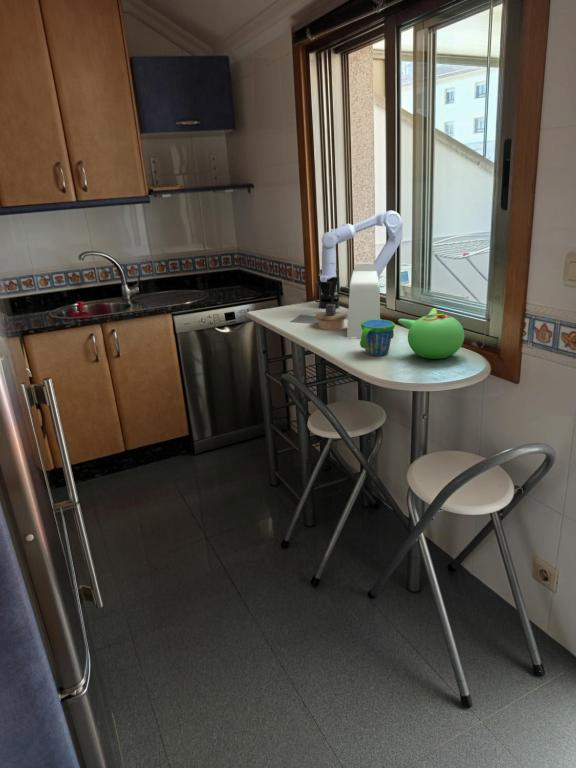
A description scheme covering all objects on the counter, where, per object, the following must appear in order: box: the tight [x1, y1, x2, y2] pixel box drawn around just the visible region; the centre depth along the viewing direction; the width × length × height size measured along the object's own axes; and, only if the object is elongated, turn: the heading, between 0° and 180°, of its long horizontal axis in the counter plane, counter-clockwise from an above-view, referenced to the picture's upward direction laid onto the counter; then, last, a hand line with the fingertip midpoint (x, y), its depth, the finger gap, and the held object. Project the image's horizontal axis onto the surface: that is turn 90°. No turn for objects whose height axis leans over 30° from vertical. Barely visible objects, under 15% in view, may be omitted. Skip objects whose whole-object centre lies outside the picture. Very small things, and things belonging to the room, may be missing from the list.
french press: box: [314, 268, 340, 310], centre depth 242 cm, size 12×9×23 cm
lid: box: [314, 304, 347, 321], centre depth 209 cm, size 12×12×5 cm
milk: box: [346, 262, 381, 338], centre depth 197 cm, size 12×12×26 cm
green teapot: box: [397, 307, 465, 360], centre depth 170 cm, size 18×17×15 cm
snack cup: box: [359, 318, 396, 357], centre depth 176 cm, size 16×10×10 cm
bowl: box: [318, 319, 345, 331], centre depth 210 cm, size 10×10×4 cm
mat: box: [289, 314, 319, 325], centre depth 223 cm, size 13×13×1 cm
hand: (328, 296), depth 221 cm, fingers open, 7 cm apart
